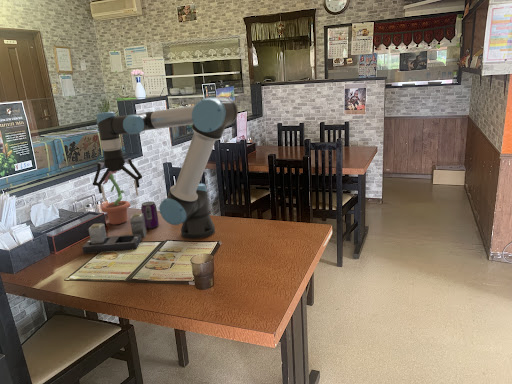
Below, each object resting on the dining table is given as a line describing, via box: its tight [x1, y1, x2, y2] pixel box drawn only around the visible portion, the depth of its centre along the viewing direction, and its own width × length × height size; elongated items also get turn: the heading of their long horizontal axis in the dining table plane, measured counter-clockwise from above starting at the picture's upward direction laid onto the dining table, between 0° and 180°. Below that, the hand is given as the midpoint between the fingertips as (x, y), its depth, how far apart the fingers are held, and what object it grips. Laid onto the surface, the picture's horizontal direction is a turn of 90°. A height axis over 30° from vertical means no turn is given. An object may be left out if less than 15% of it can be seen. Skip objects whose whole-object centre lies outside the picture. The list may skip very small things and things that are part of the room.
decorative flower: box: [101, 171, 131, 225], centre depth 198 cm, size 15×14×30 cm
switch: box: [81, 222, 143, 255], centre depth 168 cm, size 22×10×11 cm, turn 93°
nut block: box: [129, 212, 148, 239], centre depth 178 cm, size 5×5×11 cm
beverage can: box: [140, 201, 160, 229], centre depth 189 cm, size 7×7×12 cm
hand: (121, 197), depth 170 cm, fingers open, 13 cm apart
